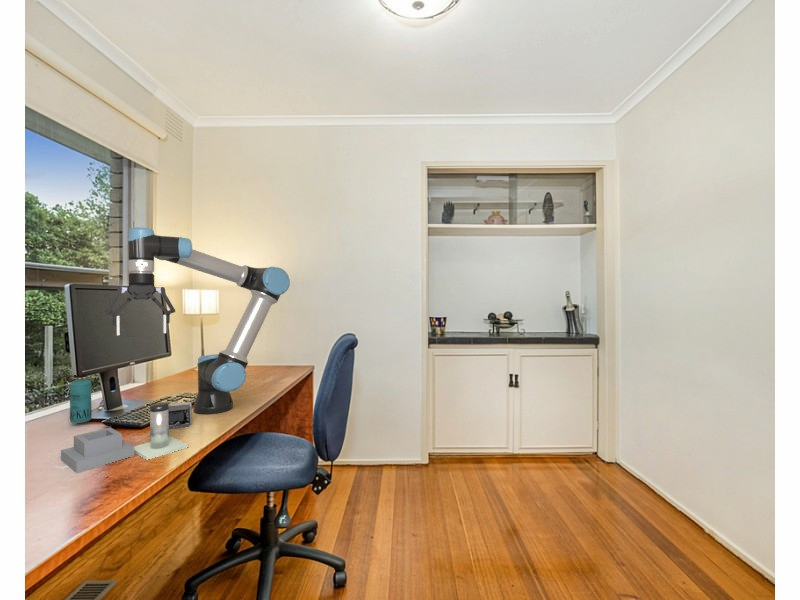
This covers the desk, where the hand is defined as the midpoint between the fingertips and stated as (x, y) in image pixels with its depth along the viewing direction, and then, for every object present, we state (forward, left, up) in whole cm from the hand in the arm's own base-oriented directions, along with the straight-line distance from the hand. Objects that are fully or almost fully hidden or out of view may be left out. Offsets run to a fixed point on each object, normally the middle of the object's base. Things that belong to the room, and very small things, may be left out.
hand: (142, 334), depth 140 cm
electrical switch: (-10, +4, -35) cm, 37 cm away
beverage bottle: (+10, -28, -35) cm, 46 cm away
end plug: (+3, +20, -34) cm, 39 cm away
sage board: (+3, +20, -35) cm, 40 cm away
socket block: (+17, +13, -35) cm, 41 cm away
